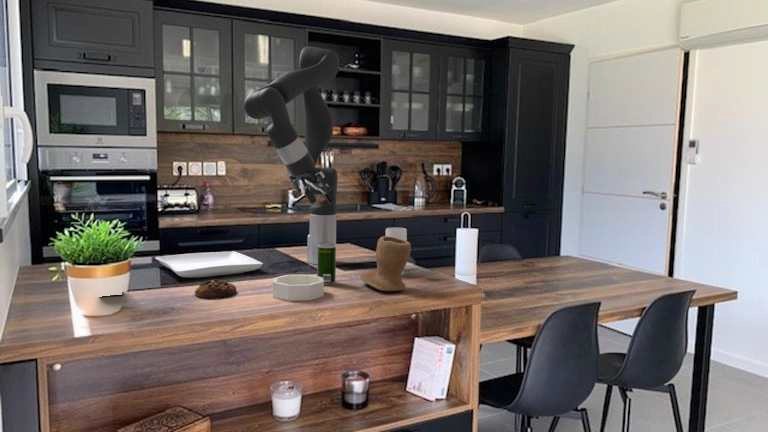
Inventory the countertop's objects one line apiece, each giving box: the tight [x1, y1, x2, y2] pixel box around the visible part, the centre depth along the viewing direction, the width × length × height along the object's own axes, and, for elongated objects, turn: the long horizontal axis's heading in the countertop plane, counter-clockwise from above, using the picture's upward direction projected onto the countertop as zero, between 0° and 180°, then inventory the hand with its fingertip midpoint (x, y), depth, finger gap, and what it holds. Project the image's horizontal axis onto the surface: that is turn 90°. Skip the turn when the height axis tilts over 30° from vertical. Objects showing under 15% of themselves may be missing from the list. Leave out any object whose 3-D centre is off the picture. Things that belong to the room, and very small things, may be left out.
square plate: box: [155, 250, 264, 279], centre depth 187 cm, size 27×27×4 cm
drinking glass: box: [385, 227, 408, 276], centre depth 183 cm, size 7×7×15 cm
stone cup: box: [358, 235, 412, 292], centre depth 166 cm, size 15×12×15 cm
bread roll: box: [194, 278, 237, 300], centre depth 155 cm, size 11×11×5 cm
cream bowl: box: [272, 274, 325, 302], centre depth 157 cm, size 13×13×4 cm
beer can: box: [316, 242, 337, 286], centre depth 170 cm, size 5×5×12 cm
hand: (323, 202), depth 165 cm, fingers open, 8 cm apart
